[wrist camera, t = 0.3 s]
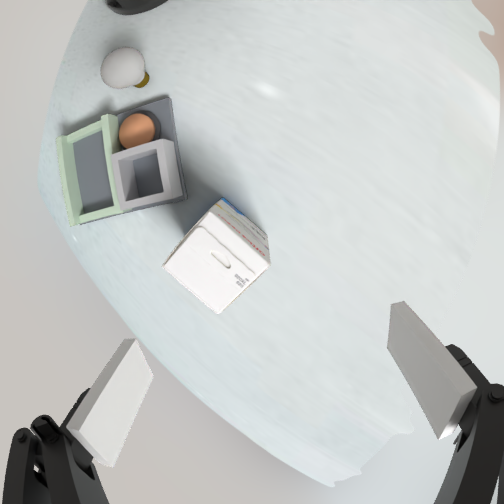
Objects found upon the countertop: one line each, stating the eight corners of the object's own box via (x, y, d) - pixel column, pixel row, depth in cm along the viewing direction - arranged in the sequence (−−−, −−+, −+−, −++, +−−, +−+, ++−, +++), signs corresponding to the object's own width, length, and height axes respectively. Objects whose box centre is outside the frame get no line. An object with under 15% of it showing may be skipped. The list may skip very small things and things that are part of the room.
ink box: (185, 239, 39) (157, 267, 28) (223, 195, 37) (207, 206, 26) (230, 277, 41) (218, 317, 29) (269, 236, 39) (272, 265, 27)
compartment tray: (69, 138, 35) (48, 136, 29) (171, 99, 33) (157, 89, 28) (84, 223, 39) (64, 231, 33) (187, 198, 37) (175, 203, 32)
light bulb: (120, 95, 33) (85, 80, 23) (135, 62, 31) (104, 39, 21) (151, 102, 33) (120, 85, 24) (167, 67, 32) (141, 42, 22)
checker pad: (120, 121, 32) (117, 120, 31) (152, 110, 32) (149, 108, 31) (125, 154, 34) (121, 154, 33) (157, 144, 34) (154, 144, 32)
